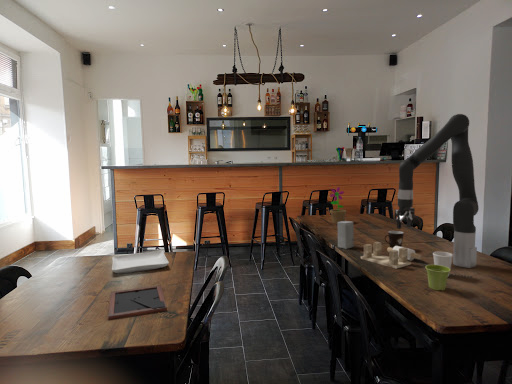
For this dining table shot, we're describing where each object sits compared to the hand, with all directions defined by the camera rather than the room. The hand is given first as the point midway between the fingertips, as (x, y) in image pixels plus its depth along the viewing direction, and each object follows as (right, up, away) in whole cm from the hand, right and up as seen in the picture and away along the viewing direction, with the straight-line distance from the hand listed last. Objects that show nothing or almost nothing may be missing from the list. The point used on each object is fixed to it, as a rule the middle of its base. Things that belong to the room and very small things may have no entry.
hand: (404, 227), depth 192 cm
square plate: (-141, -20, -4) cm, 143 cm away
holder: (-12, -17, -4) cm, 21 cm away
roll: (0, -17, +1) cm, 17 cm away
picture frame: (-126, -25, -53) cm, 139 cm away
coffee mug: (+2, -15, +21) cm, 26 cm away
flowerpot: (-10, -7, +110) cm, 110 cm away
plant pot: (-4, -21, -43) cm, 48 cm away
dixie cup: (+6, -19, -27) cm, 34 cm away
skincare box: (-25, -15, +27) cm, 40 cm away
